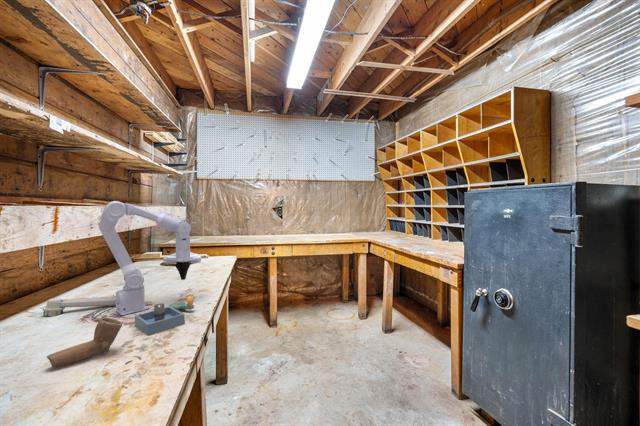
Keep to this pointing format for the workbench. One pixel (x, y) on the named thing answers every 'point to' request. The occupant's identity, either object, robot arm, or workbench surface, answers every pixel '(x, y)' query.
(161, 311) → the pin
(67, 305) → the grey long piece
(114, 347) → the workbench surface
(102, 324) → the pipe
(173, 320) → the tray
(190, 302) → the crank
